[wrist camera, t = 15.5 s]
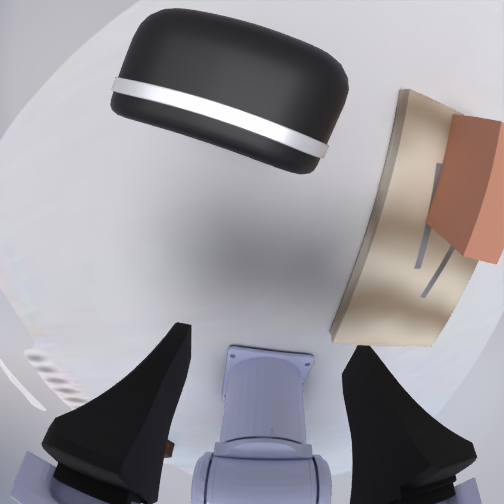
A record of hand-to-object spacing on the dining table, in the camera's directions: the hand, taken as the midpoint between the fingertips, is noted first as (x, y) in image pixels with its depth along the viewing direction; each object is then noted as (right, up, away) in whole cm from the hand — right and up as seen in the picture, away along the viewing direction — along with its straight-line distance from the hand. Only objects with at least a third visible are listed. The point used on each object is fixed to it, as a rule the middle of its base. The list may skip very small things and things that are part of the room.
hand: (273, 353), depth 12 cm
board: (+13, +5, +8) cm, 16 cm away
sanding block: (+14, +10, +4) cm, 17 cm away
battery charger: (-1, +14, +4) cm, 15 cm away
